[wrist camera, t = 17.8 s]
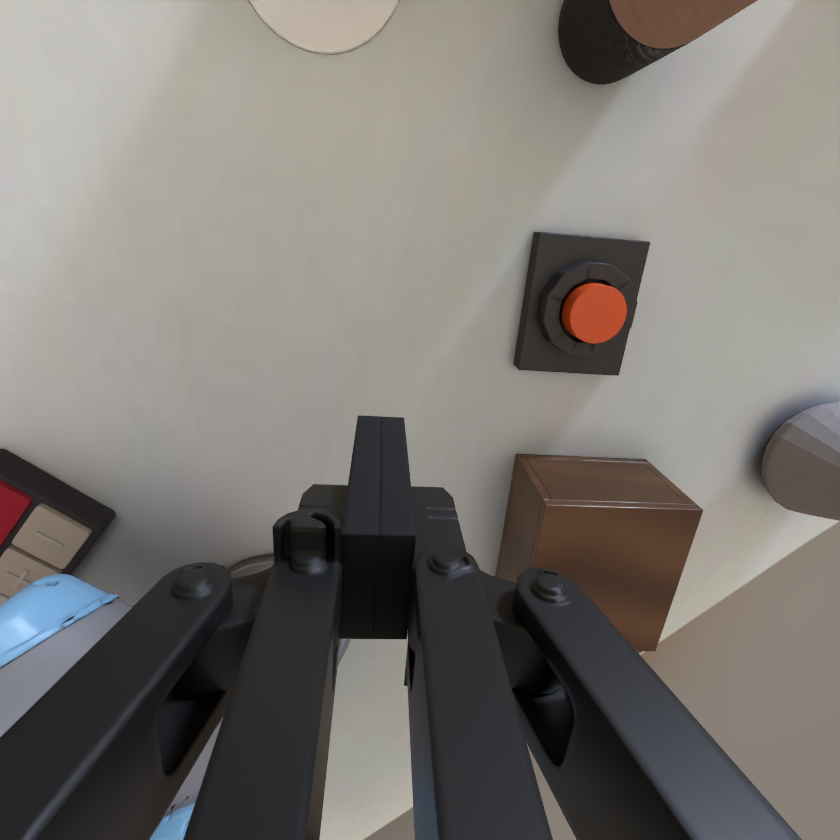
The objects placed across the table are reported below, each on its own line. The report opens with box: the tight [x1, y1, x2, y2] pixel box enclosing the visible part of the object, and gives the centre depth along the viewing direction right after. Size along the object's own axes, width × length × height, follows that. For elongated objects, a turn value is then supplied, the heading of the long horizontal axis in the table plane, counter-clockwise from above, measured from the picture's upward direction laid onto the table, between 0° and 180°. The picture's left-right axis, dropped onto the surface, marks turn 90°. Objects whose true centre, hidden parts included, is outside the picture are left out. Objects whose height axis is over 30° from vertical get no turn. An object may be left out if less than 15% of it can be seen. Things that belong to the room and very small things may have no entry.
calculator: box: [0, 449, 115, 605], centre depth 44 cm, size 11×4×15 cm
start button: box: [562, 283, 627, 344], centre depth 38 cm, size 4×4×2 cm
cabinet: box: [496, 454, 703, 651], centre depth 45 cm, size 15×13×9 cm
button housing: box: [514, 232, 650, 375], centre depth 40 cm, size 11×9×4 cm
